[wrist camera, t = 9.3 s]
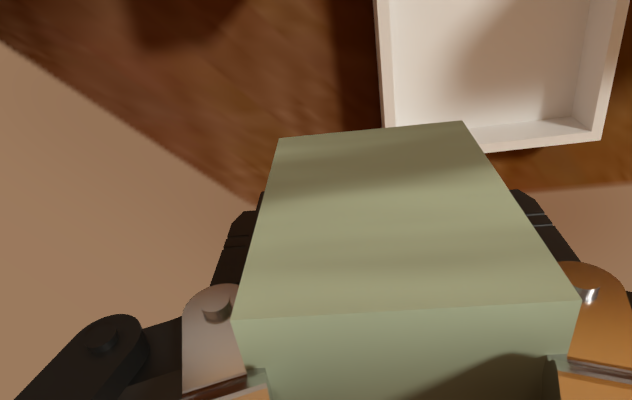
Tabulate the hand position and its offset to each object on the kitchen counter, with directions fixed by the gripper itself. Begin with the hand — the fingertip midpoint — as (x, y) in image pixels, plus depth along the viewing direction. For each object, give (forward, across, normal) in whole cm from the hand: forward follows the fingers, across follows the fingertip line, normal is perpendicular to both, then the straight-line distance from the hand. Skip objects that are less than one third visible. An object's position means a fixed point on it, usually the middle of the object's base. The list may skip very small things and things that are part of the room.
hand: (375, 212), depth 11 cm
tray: (+17, -8, 0) cm, 19 cm away
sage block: (0, 0, 0) cm, 0 cm away
